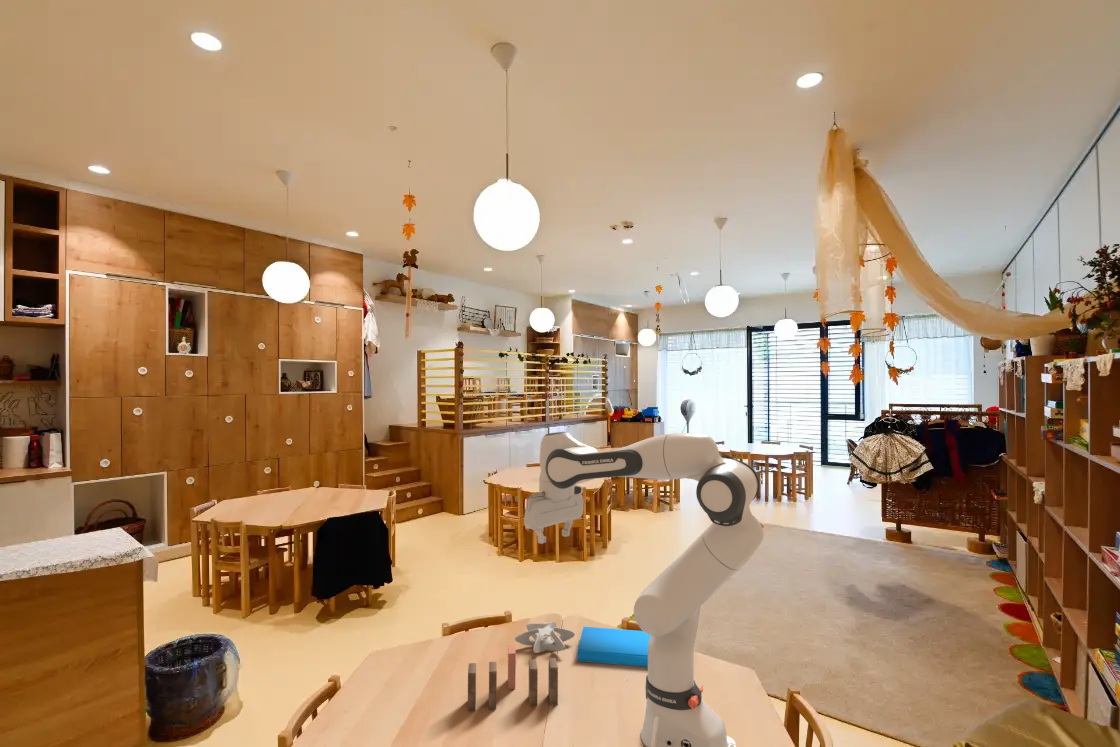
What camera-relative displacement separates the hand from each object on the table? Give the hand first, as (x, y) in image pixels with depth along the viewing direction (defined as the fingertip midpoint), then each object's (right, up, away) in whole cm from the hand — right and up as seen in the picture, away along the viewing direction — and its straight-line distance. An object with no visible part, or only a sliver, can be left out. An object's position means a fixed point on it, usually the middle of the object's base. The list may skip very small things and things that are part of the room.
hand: (554, 539), depth 151 cm
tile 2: (-17, -43, -4) cm, 46 cm away
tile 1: (-22, -43, -5) cm, 49 cm away
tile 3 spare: (-12, -43, +5) cm, 45 cm away
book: (+21, -45, +24) cm, 55 cm away
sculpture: (-3, -44, +28) cm, 52 cm away
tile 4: (-6, -43, -3) cm, 44 cm away
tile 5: (0, -43, -2) cm, 43 cm away
